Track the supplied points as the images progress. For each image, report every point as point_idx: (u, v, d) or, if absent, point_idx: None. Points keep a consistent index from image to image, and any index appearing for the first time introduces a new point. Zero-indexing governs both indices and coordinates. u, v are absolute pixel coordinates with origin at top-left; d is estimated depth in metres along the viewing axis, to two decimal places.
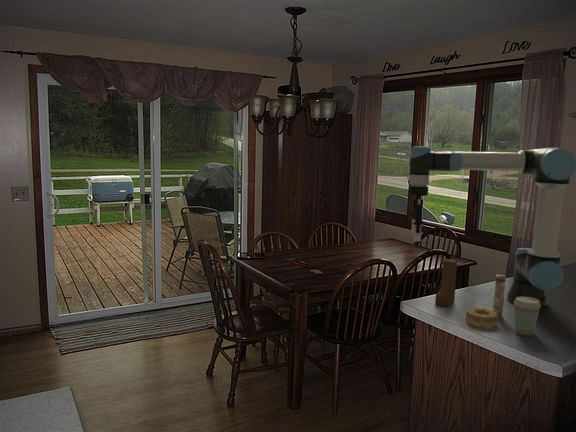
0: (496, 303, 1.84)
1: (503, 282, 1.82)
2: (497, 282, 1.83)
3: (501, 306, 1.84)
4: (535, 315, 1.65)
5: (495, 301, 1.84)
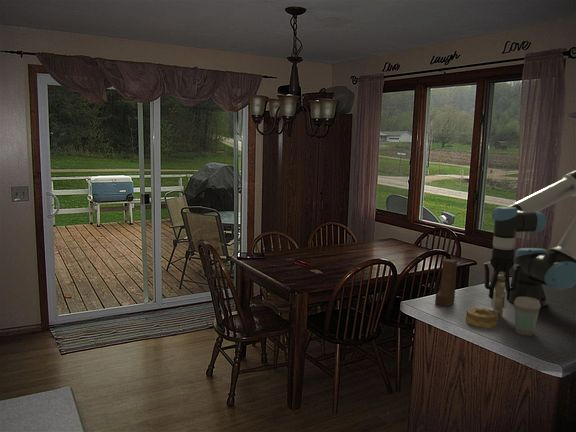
0: (496, 303, 1.84)
1: (503, 282, 1.82)
2: (497, 282, 1.83)
3: (501, 306, 1.84)
4: (535, 315, 1.65)
5: (495, 301, 1.84)
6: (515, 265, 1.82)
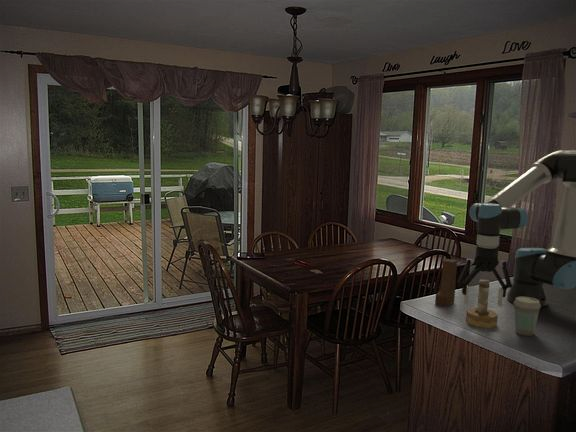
0: (480, 310, 1.76)
1: (487, 287, 1.75)
2: (480, 287, 1.75)
3: (485, 312, 1.76)
4: (535, 315, 1.65)
5: (478, 307, 1.77)
6: (500, 262, 1.74)
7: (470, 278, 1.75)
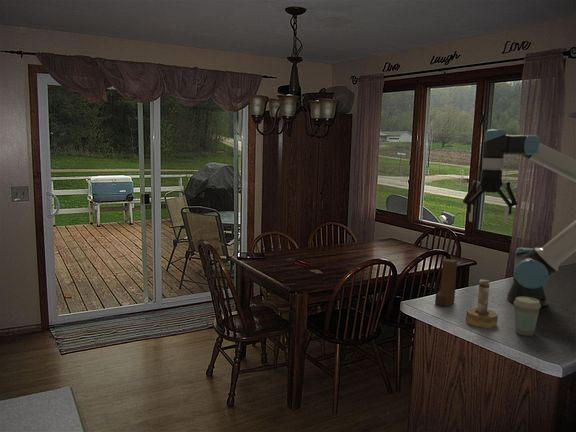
0: (480, 310, 1.76)
1: (487, 287, 1.75)
2: (480, 287, 1.75)
3: (485, 312, 1.76)
4: (535, 315, 1.65)
5: (479, 307, 1.77)
6: (504, 183, 1.90)
7: (475, 197, 1.92)
